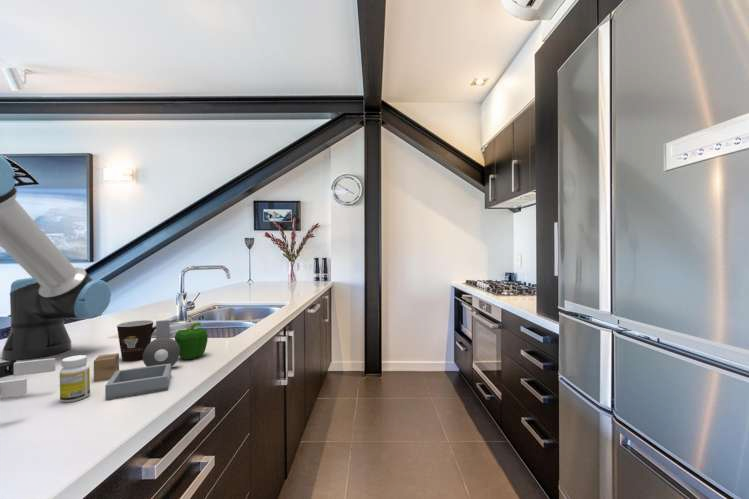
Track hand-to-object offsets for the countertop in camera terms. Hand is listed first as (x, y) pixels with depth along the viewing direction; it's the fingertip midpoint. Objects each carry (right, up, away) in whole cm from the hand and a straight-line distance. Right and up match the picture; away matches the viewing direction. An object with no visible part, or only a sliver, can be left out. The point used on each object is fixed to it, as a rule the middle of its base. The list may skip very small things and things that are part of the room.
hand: (41, 374), depth 70 cm
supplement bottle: (+4, -6, +3) cm, 8 cm away
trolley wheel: (+11, -6, +21) cm, 25 cm away
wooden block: (+2, -6, +15) cm, 16 cm away
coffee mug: (0, -6, +30) cm, 30 cm away
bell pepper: (+14, -6, +30) cm, 34 cm away
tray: (+14, -6, +8) cm, 18 cm away
